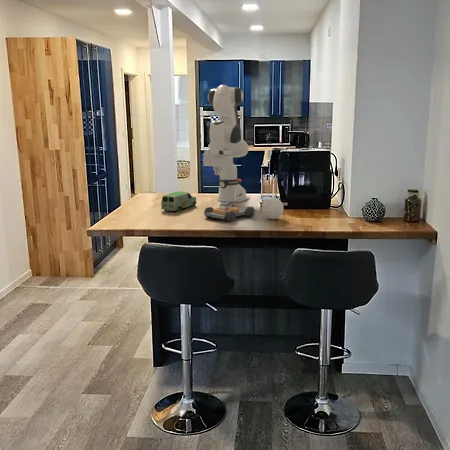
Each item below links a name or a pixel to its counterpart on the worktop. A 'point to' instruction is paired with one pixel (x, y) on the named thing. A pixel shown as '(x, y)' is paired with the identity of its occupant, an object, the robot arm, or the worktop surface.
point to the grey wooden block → (225, 206)
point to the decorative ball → (272, 208)
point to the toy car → (177, 201)
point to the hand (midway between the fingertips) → (217, 174)
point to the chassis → (229, 213)
